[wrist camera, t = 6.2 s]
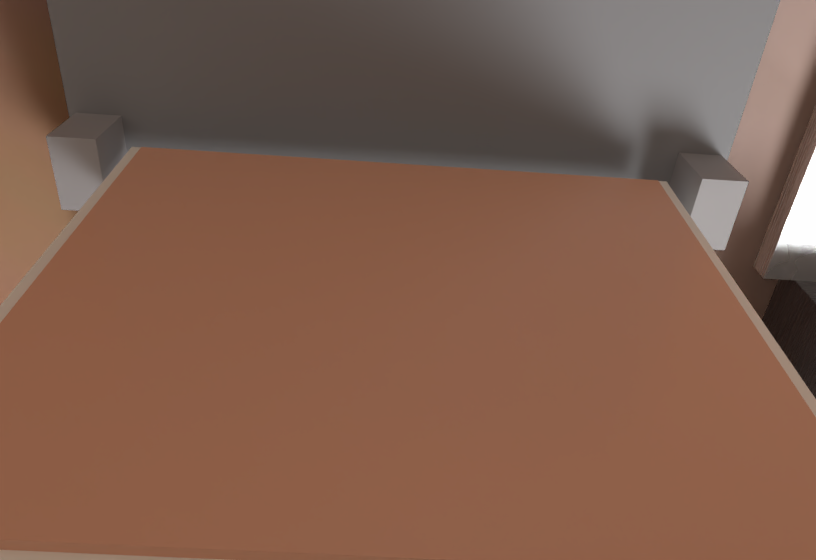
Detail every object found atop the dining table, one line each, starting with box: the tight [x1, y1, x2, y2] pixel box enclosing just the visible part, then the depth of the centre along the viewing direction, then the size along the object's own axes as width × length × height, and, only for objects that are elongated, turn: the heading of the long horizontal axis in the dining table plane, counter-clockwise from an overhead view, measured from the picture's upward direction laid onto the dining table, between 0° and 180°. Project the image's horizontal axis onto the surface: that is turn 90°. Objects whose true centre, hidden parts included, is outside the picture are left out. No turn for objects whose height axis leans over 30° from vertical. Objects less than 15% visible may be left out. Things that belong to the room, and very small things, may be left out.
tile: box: [0, 147, 816, 560], centre depth 13 cm, size 12×14×1 cm
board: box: [46, 0, 780, 250], centre depth 18 cm, size 18×22×3 cm
